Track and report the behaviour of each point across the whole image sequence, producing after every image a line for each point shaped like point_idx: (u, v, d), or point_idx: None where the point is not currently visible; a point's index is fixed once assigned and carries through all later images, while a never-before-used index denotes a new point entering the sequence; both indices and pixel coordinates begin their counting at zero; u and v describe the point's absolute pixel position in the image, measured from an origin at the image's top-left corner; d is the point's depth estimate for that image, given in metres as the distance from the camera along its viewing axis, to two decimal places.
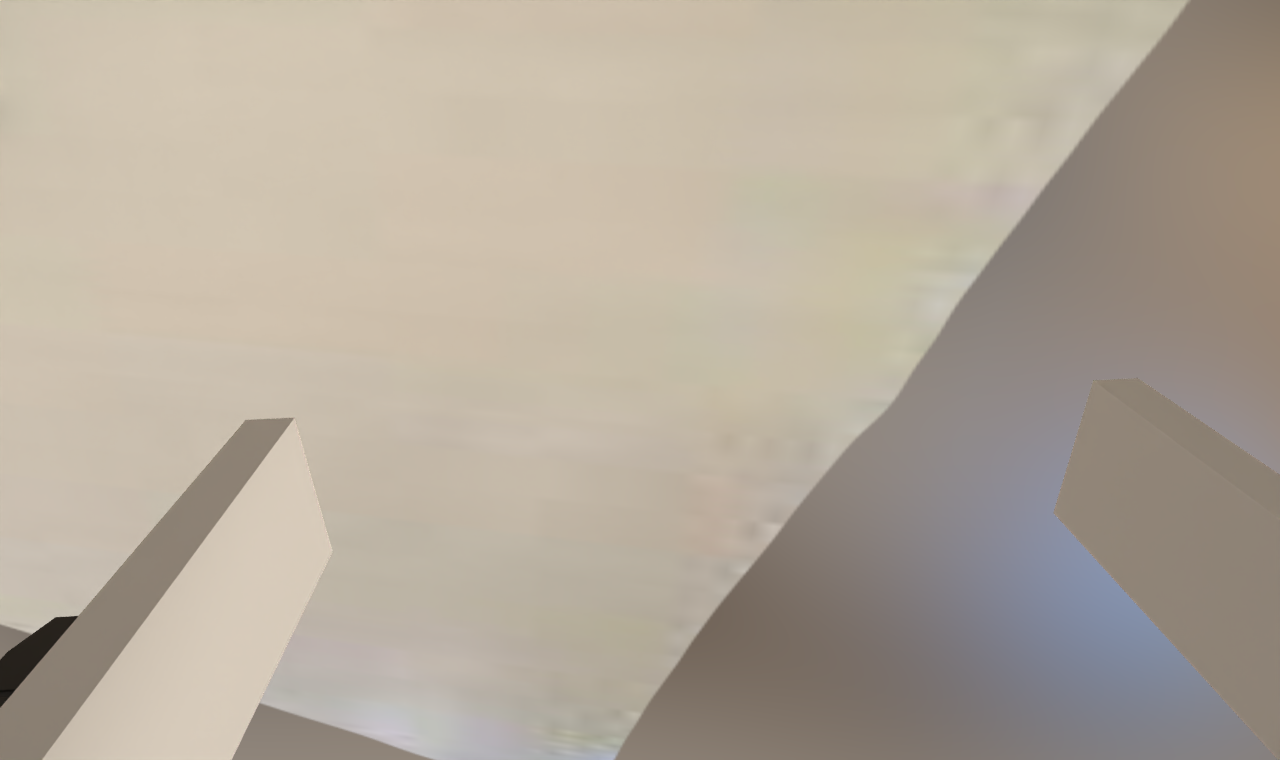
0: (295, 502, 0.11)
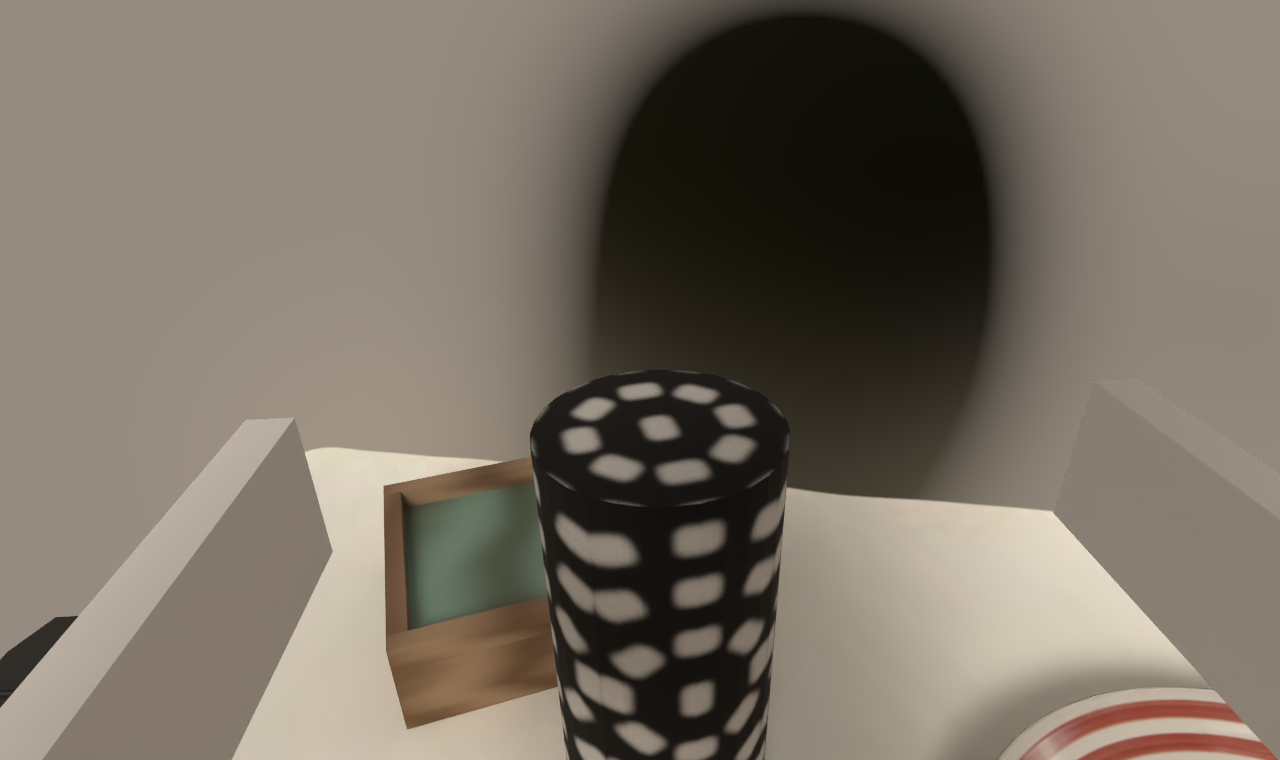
0: (295, 502, 0.11)
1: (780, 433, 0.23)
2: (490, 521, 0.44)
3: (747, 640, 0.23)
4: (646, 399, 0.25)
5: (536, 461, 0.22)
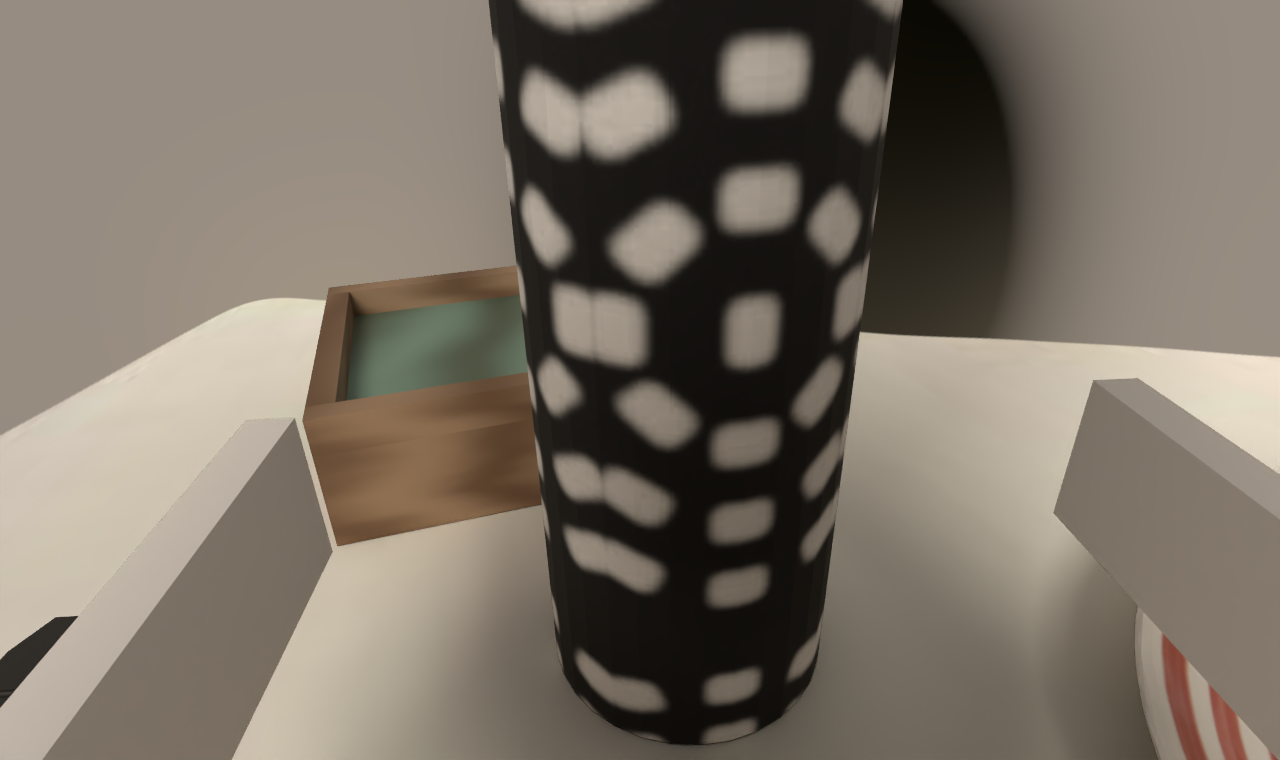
0: (295, 502, 0.11)
1: None
2: (460, 325, 0.35)
3: (836, 232, 0.14)
4: None
5: None
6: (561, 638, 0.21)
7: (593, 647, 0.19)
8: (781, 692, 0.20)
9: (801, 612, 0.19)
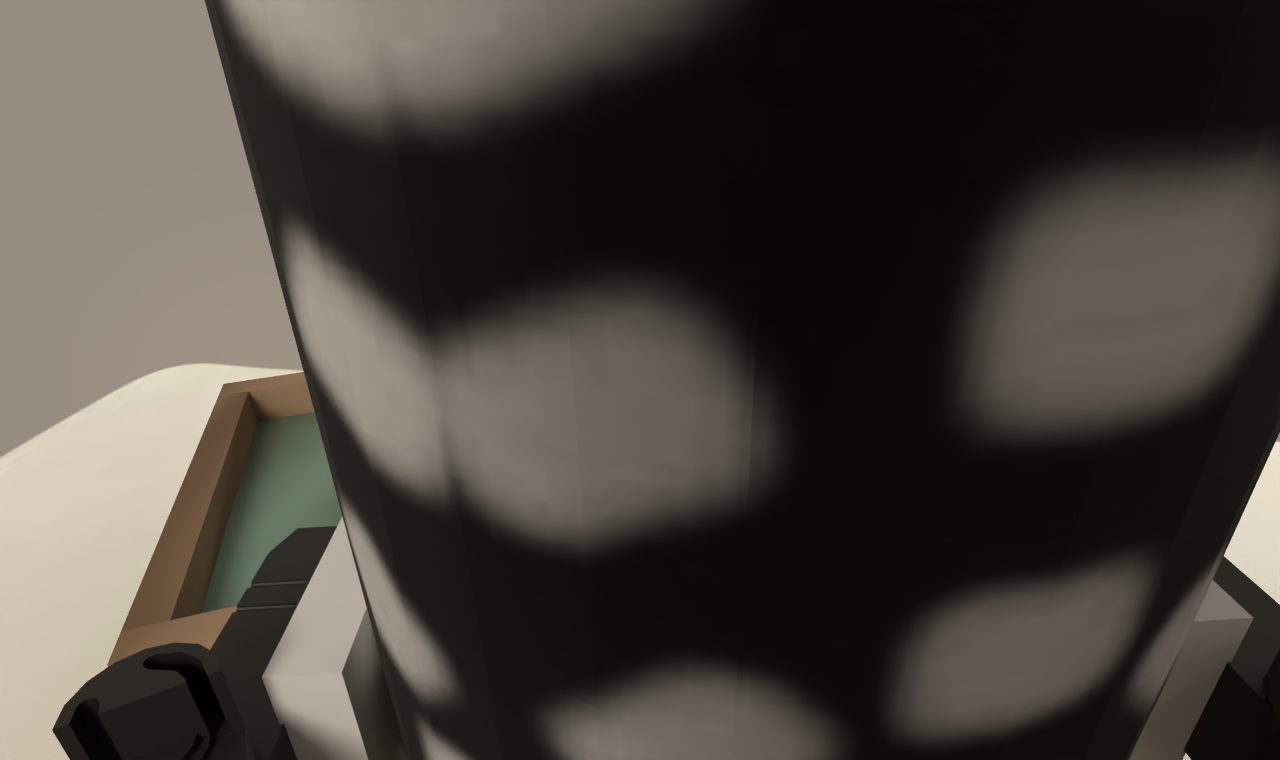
0: None
1: None
2: None
3: (1178, 646, 0.05)
4: None
5: None
6: None
7: None
8: None
9: None
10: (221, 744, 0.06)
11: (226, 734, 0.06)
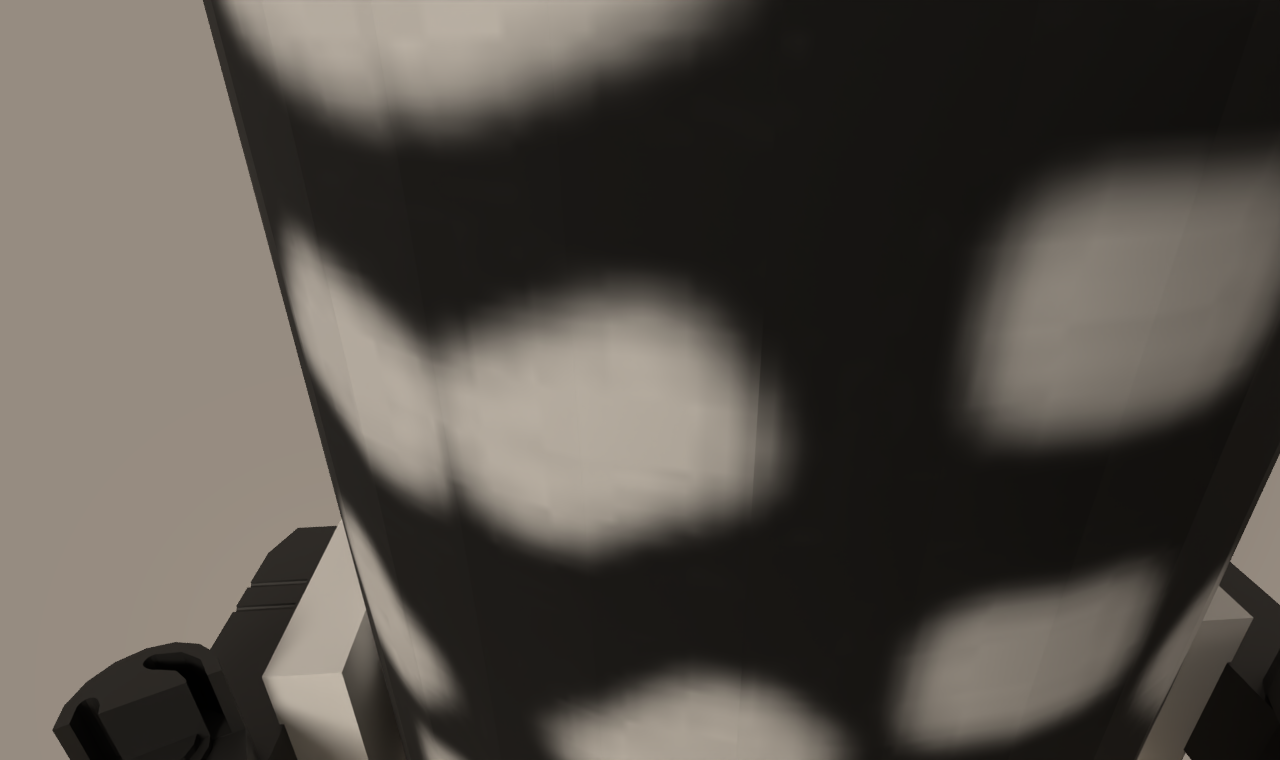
0: None
1: None
2: None
3: (1185, 649, 0.05)
4: None
5: None
6: None
7: None
8: None
9: None
10: (221, 744, 0.06)
11: (226, 734, 0.06)
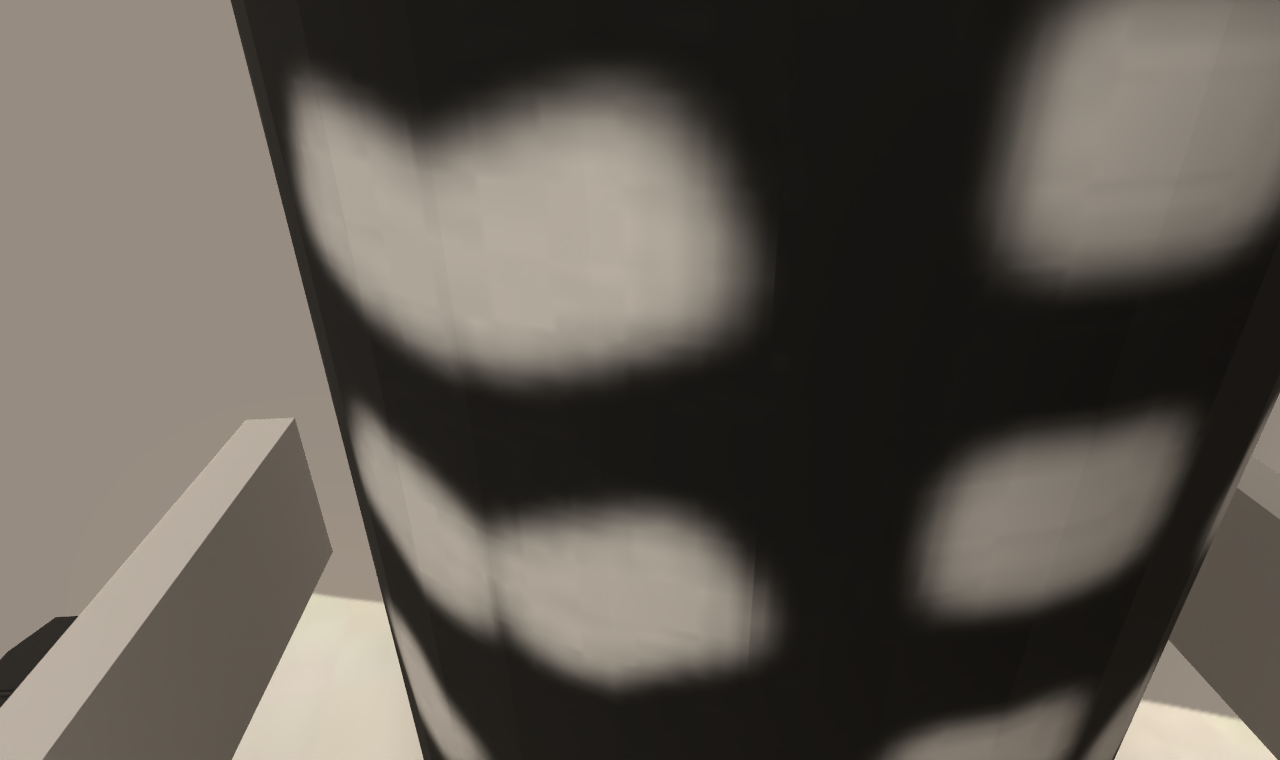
0: (295, 502, 0.11)
1: None
2: None
3: (1120, 737, 0.06)
4: None
5: None
6: None
7: None
8: None
9: None
10: None
11: None
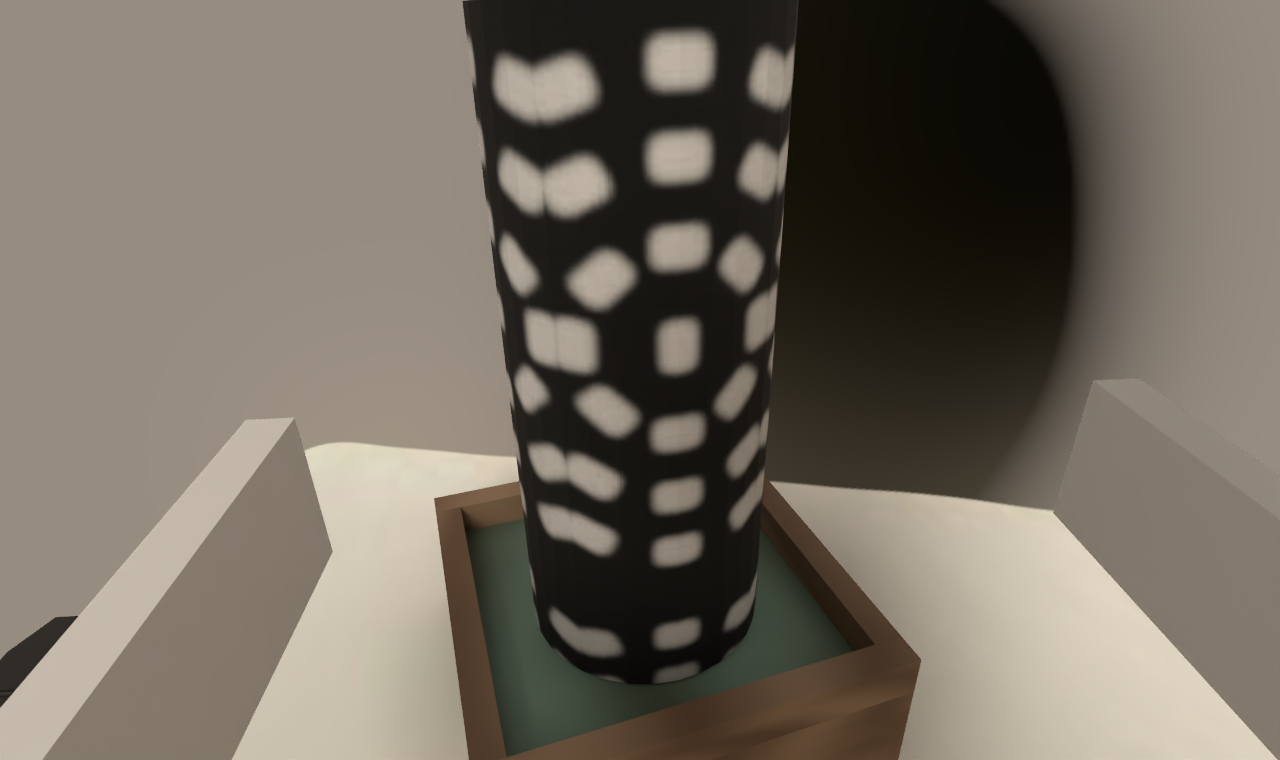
0: (295, 502, 0.11)
1: None
2: None
3: (742, 269, 0.18)
4: None
5: (468, 1, 0.17)
6: (537, 600, 0.25)
7: (563, 603, 0.23)
8: (719, 640, 0.24)
9: (733, 572, 0.23)
10: None
11: None
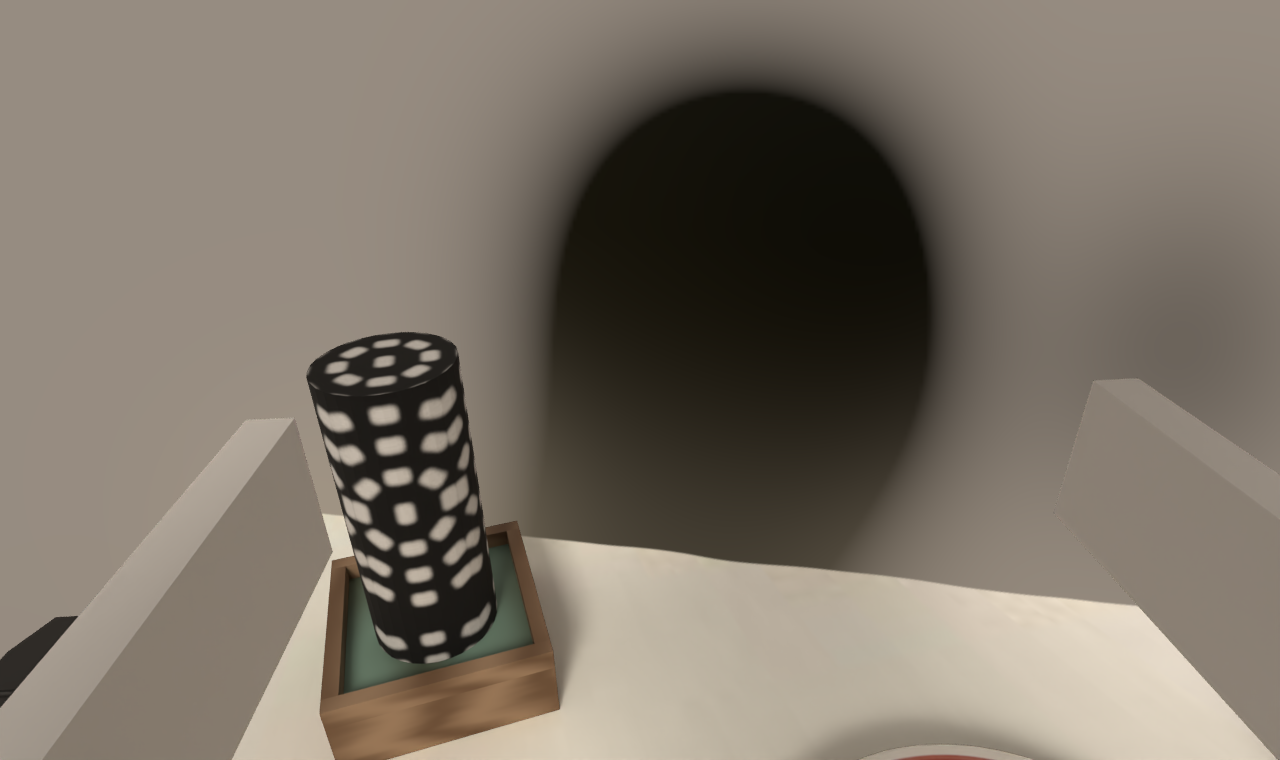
0: (295, 502, 0.11)
1: (448, 364, 0.41)
2: None
3: (432, 480, 0.41)
4: (387, 347, 0.43)
5: None
6: (372, 620, 0.48)
7: (378, 623, 0.46)
8: (460, 641, 0.47)
9: (461, 608, 0.46)
10: None
11: None
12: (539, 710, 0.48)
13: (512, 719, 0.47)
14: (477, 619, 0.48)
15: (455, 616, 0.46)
